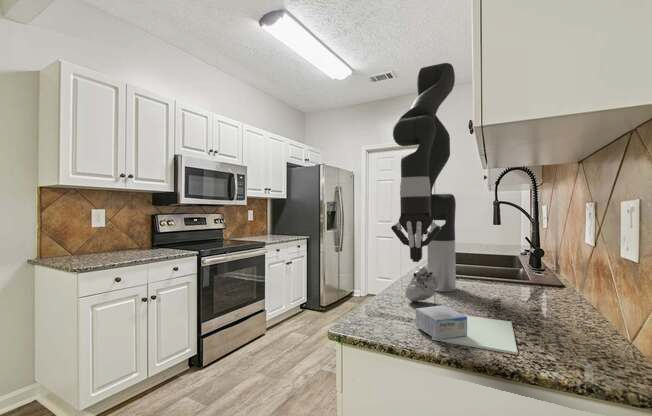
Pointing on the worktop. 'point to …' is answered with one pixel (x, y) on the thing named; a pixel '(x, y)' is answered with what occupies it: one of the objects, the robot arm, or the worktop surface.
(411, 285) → the heart
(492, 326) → the cutting board
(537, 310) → the worktop surface
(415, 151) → the robot arm
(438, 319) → the medicine box
